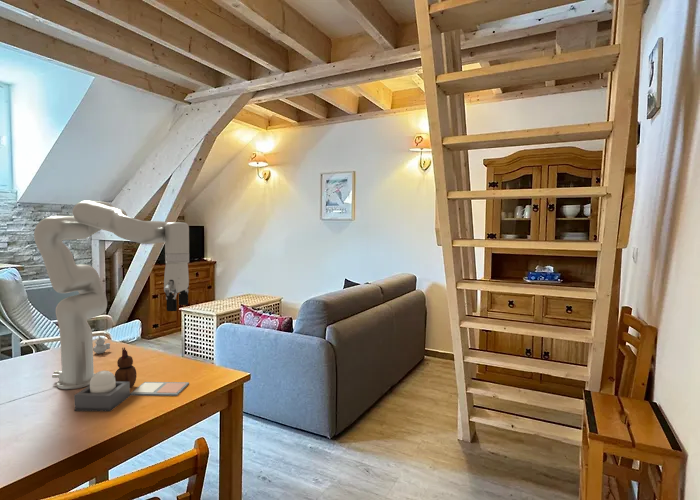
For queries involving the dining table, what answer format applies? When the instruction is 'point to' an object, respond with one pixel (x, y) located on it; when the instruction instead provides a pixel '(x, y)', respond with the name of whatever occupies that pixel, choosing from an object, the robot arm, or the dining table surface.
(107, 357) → the dining table surface
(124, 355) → the wooden figurine
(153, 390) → the grey flat tray
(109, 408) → the dome housing
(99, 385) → the dome
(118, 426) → the dining table surface
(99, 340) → the rubber duck
